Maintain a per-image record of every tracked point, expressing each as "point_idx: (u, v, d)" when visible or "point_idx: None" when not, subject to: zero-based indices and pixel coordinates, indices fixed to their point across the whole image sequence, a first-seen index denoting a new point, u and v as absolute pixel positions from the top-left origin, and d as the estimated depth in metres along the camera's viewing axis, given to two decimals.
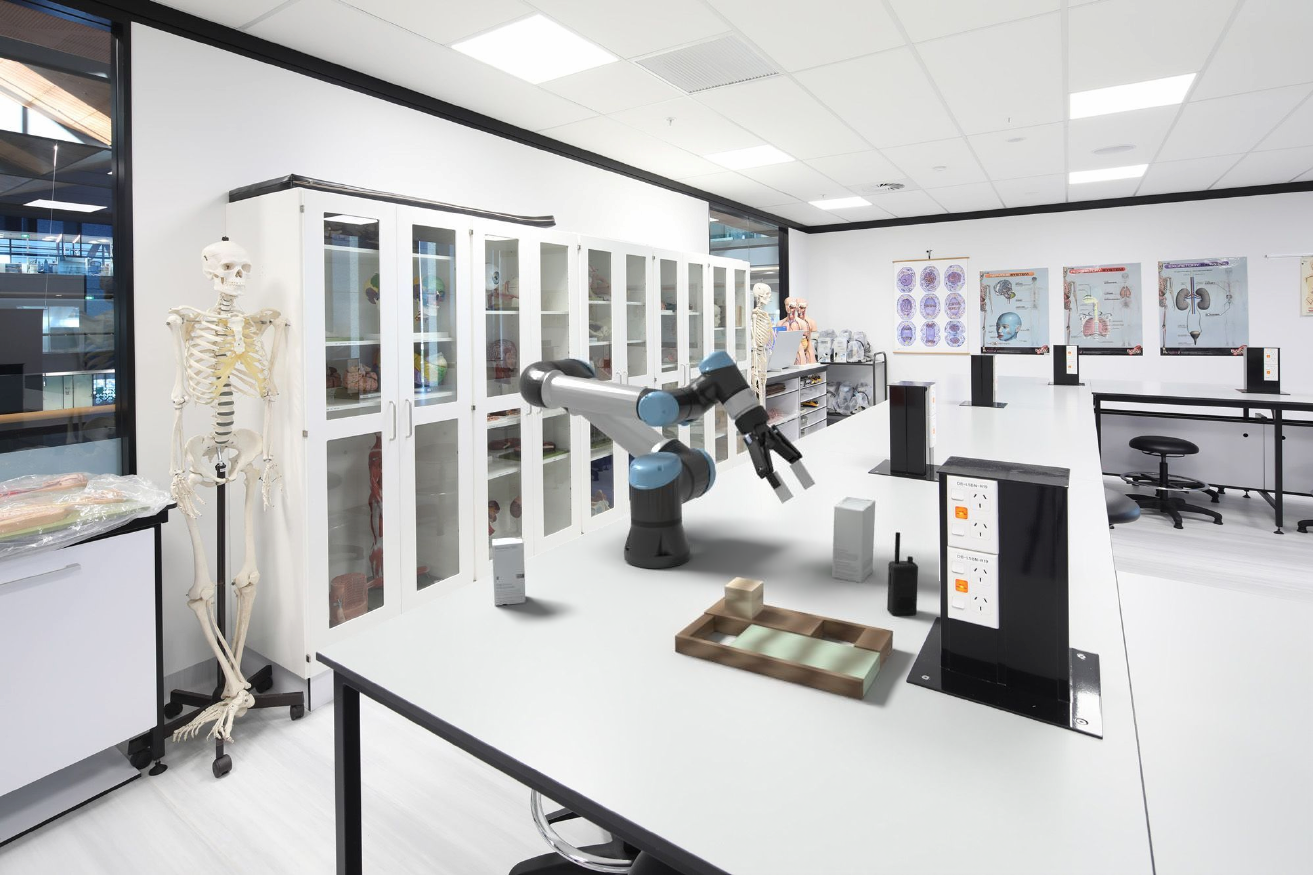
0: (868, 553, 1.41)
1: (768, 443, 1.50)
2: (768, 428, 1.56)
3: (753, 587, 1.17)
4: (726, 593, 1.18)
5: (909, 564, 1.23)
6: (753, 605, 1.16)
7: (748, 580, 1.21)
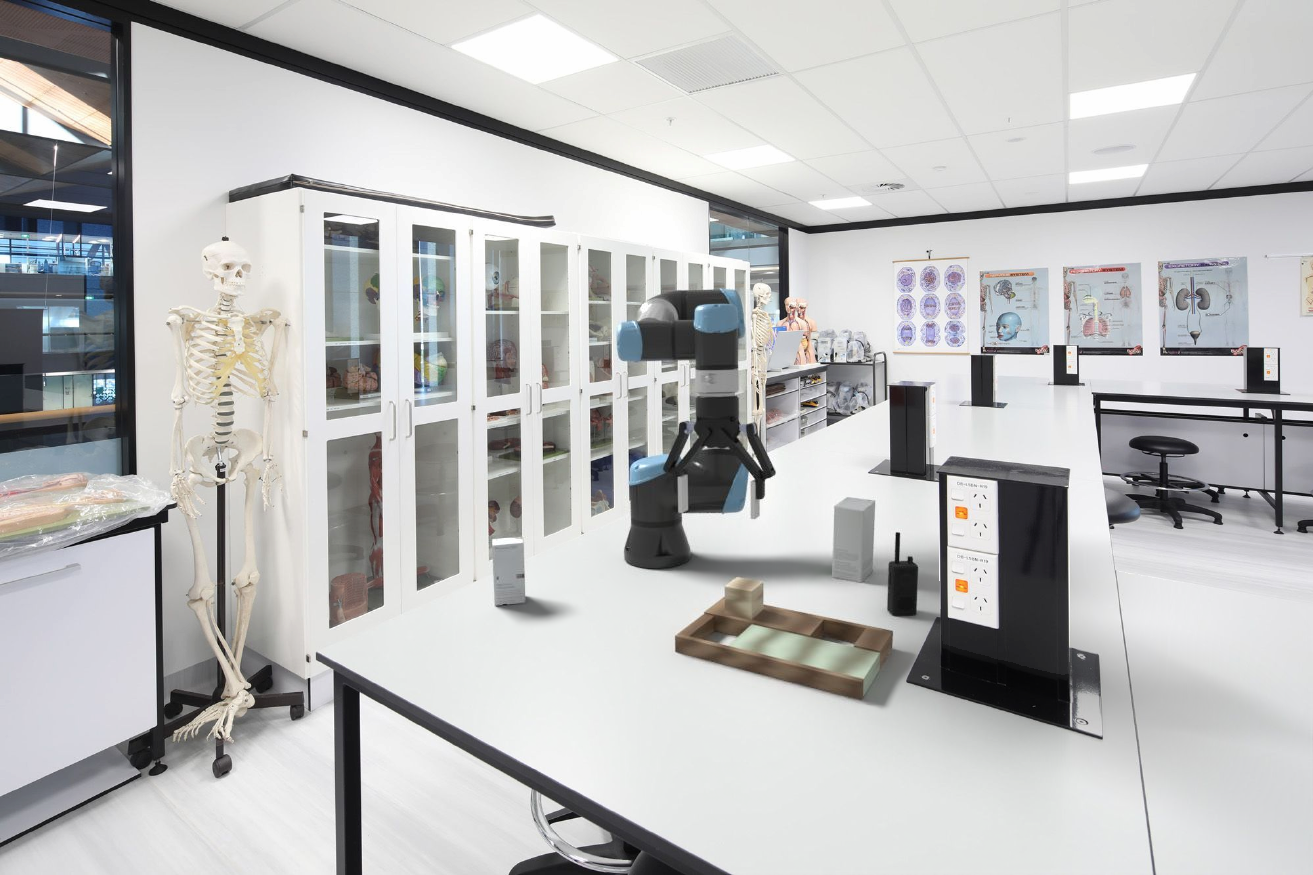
0: (868, 553, 1.41)
1: (697, 444, 1.21)
2: (729, 426, 1.19)
3: (753, 587, 1.17)
4: (726, 593, 1.18)
5: (909, 564, 1.23)
6: (753, 605, 1.16)
7: (748, 580, 1.21)
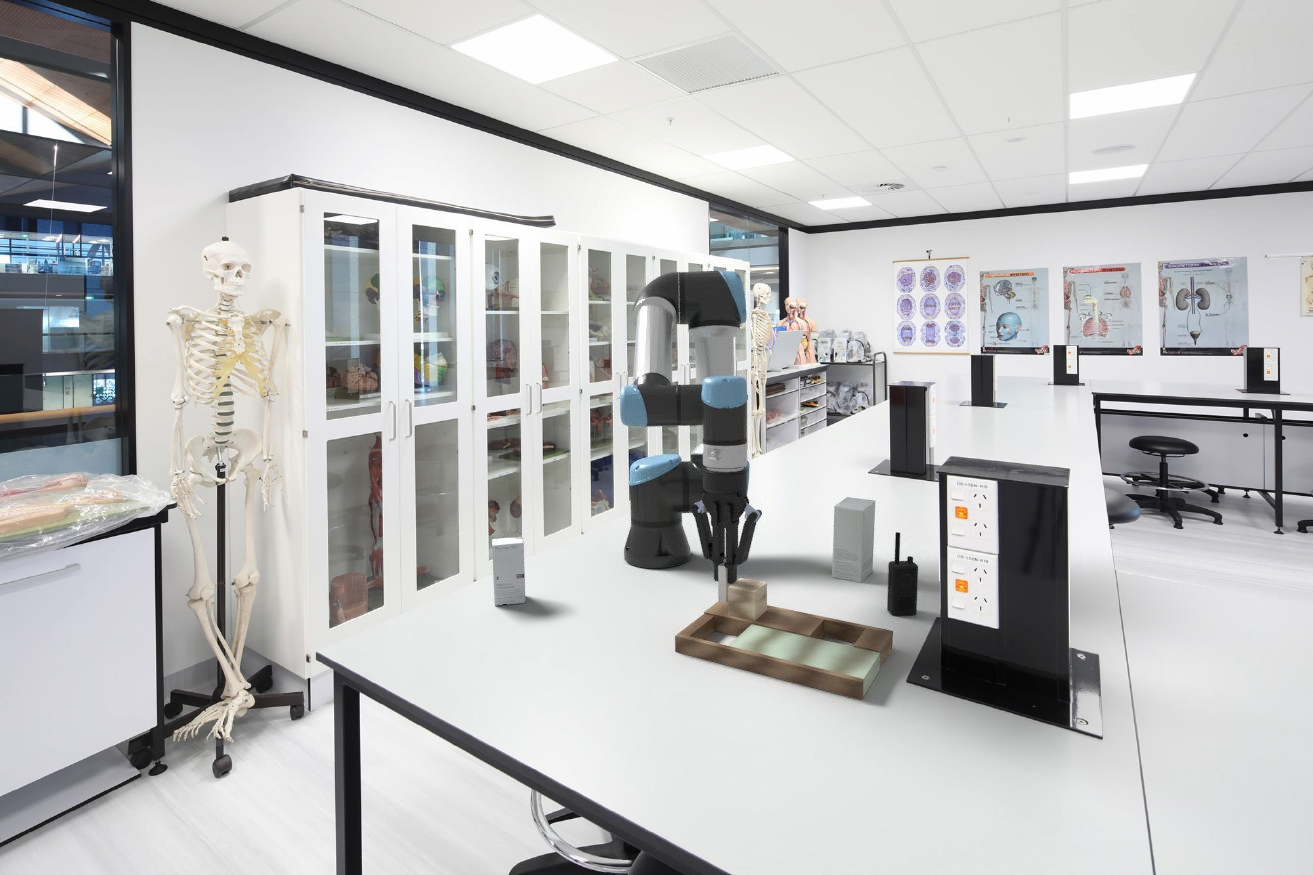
0: (868, 553, 1.41)
1: (714, 522, 1.18)
2: (738, 500, 1.16)
3: (756, 588, 1.17)
4: (729, 594, 1.18)
5: (909, 564, 1.23)
6: (756, 606, 1.16)
7: (751, 580, 1.20)
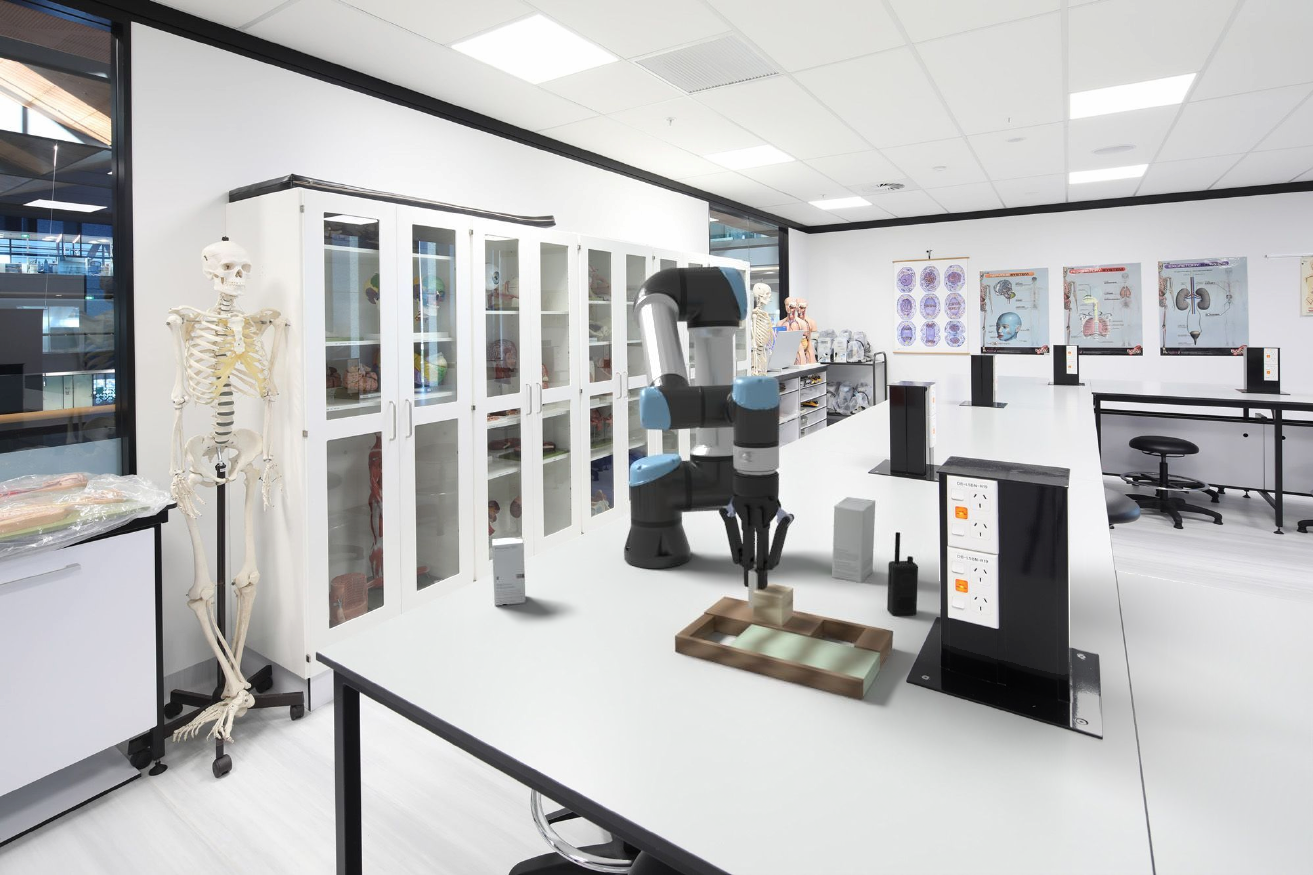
0: (868, 553, 1.41)
1: (744, 526, 1.15)
2: (769, 504, 1.13)
3: (783, 594, 1.14)
4: (755, 599, 1.15)
5: (909, 564, 1.23)
6: (783, 612, 1.13)
7: (777, 585, 1.18)
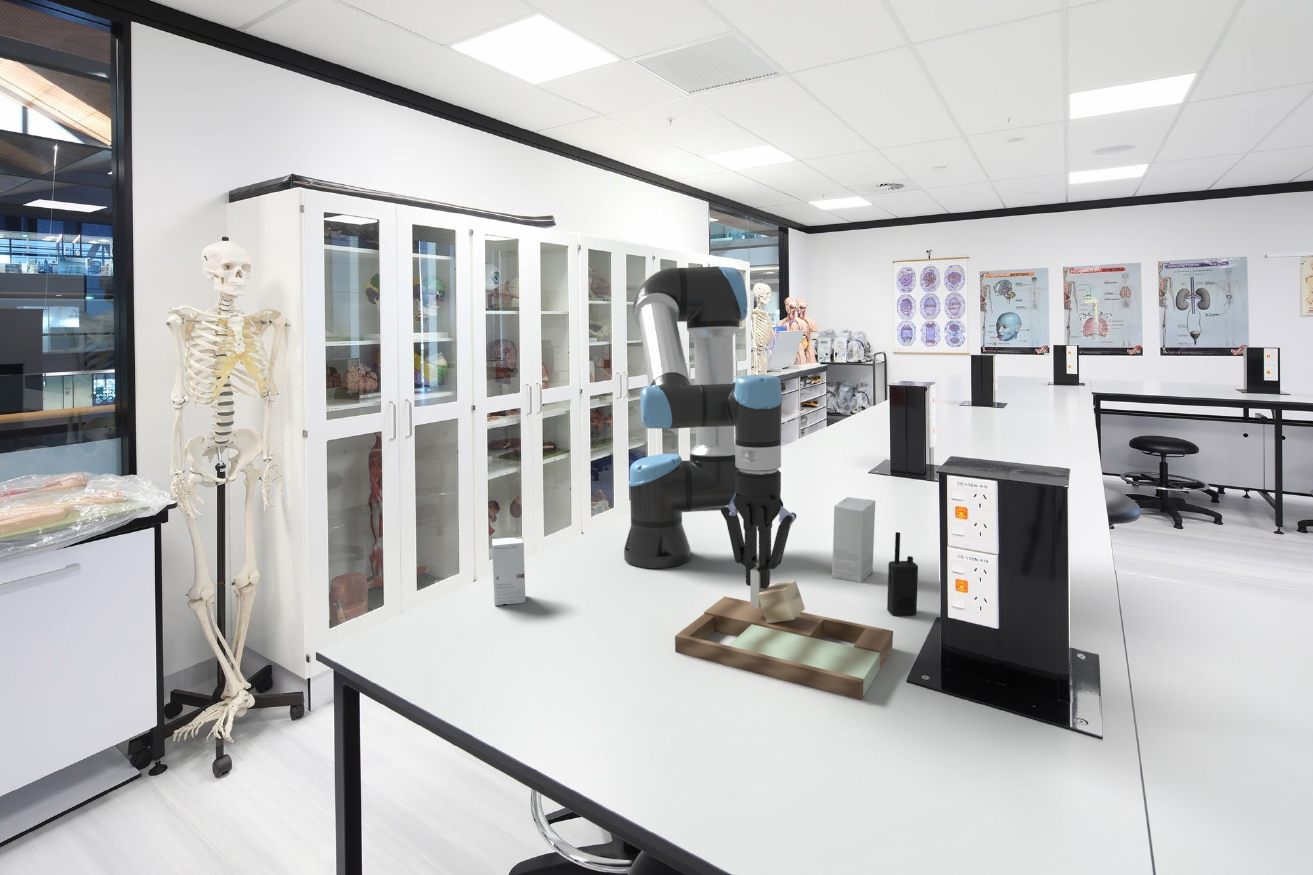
0: (868, 553, 1.41)
1: (746, 525, 1.15)
2: (772, 503, 1.13)
3: (785, 587, 1.14)
4: (761, 601, 1.15)
5: (909, 564, 1.23)
6: (791, 605, 1.13)
7: (780, 583, 1.17)
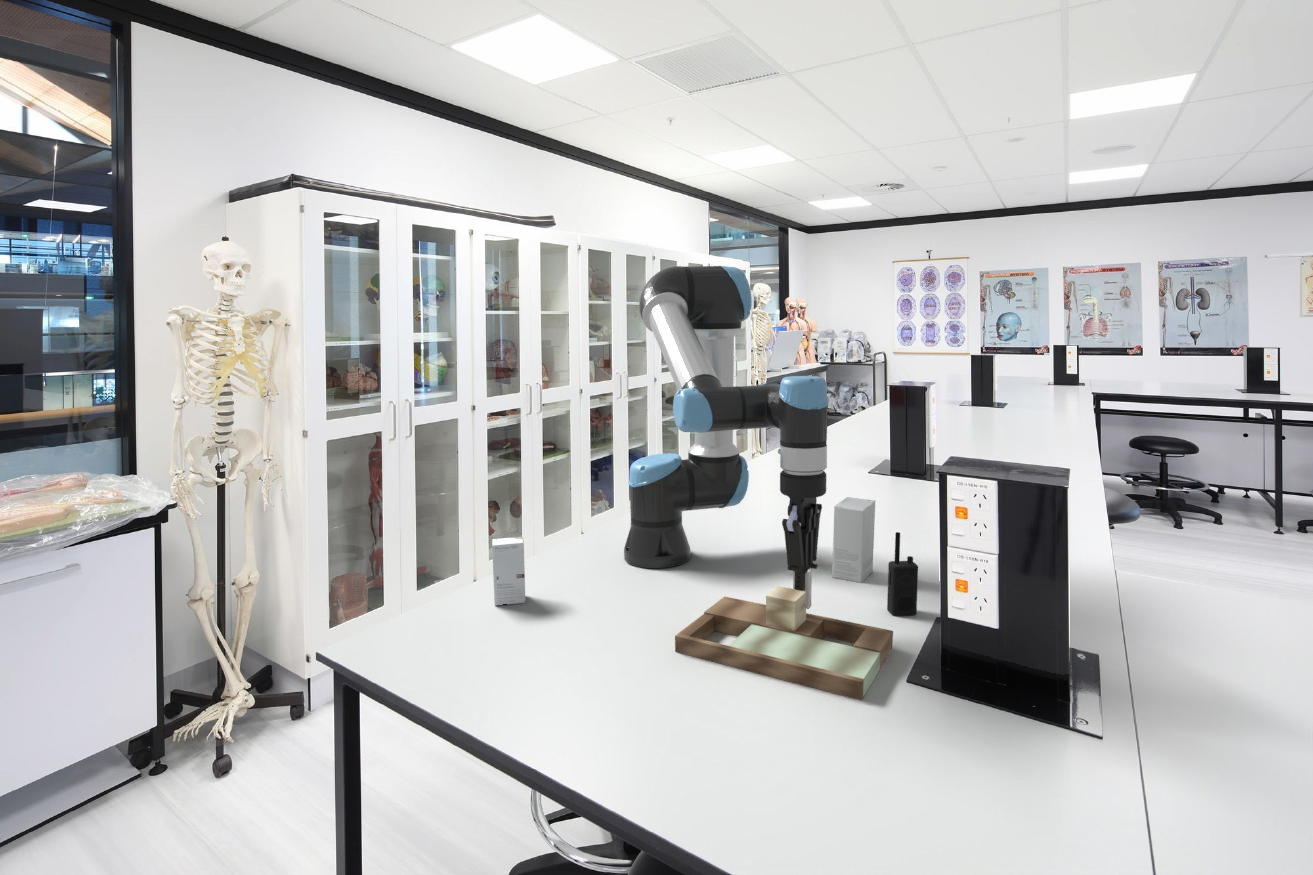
0: (868, 553, 1.41)
1: None
2: None
3: (796, 597, 1.12)
4: (768, 603, 1.14)
5: (909, 564, 1.23)
6: (796, 616, 1.12)
7: (790, 589, 1.16)
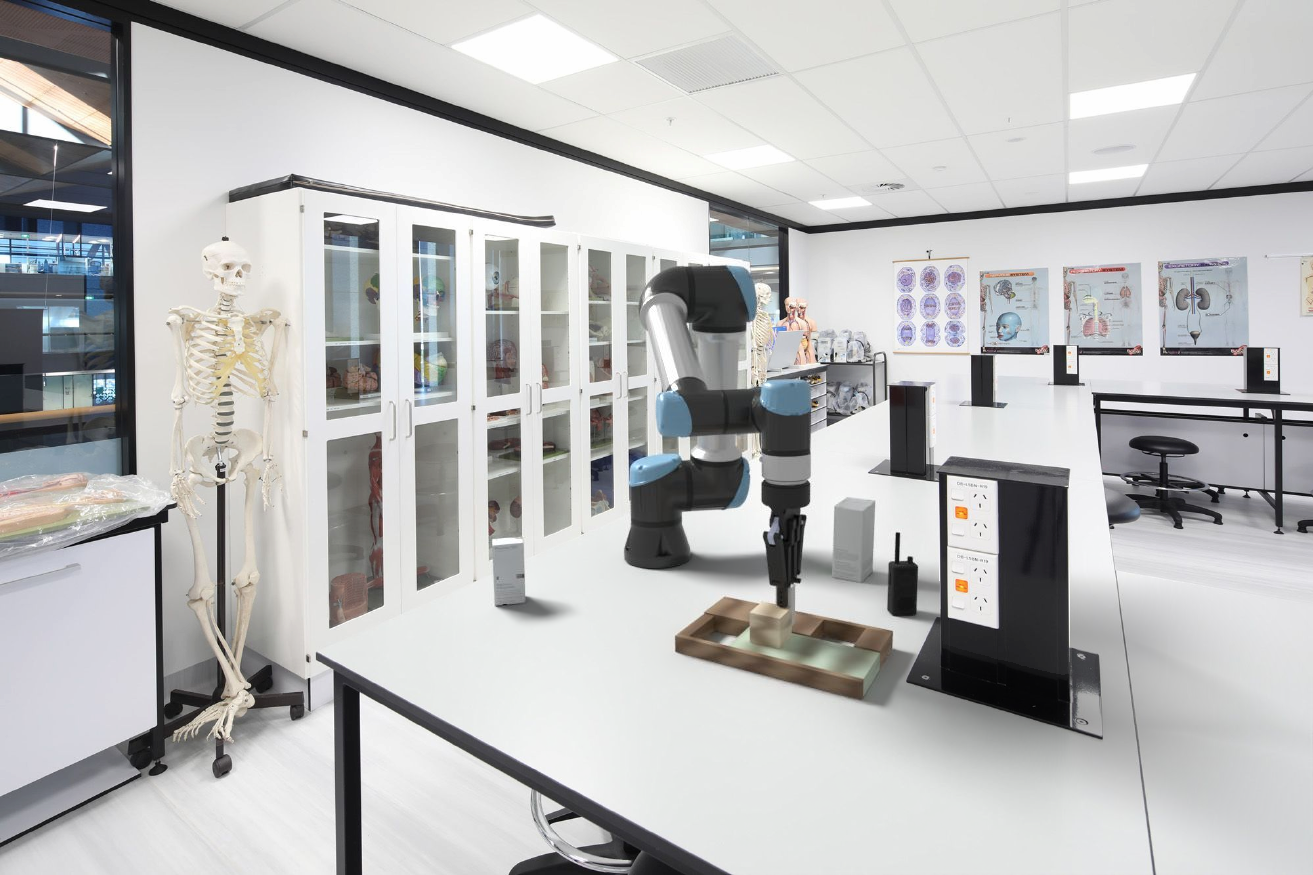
0: (868, 553, 1.41)
1: None
2: None
3: (781, 614, 1.07)
4: (751, 620, 1.08)
5: (909, 564, 1.23)
6: (781, 634, 1.06)
7: (774, 605, 1.10)
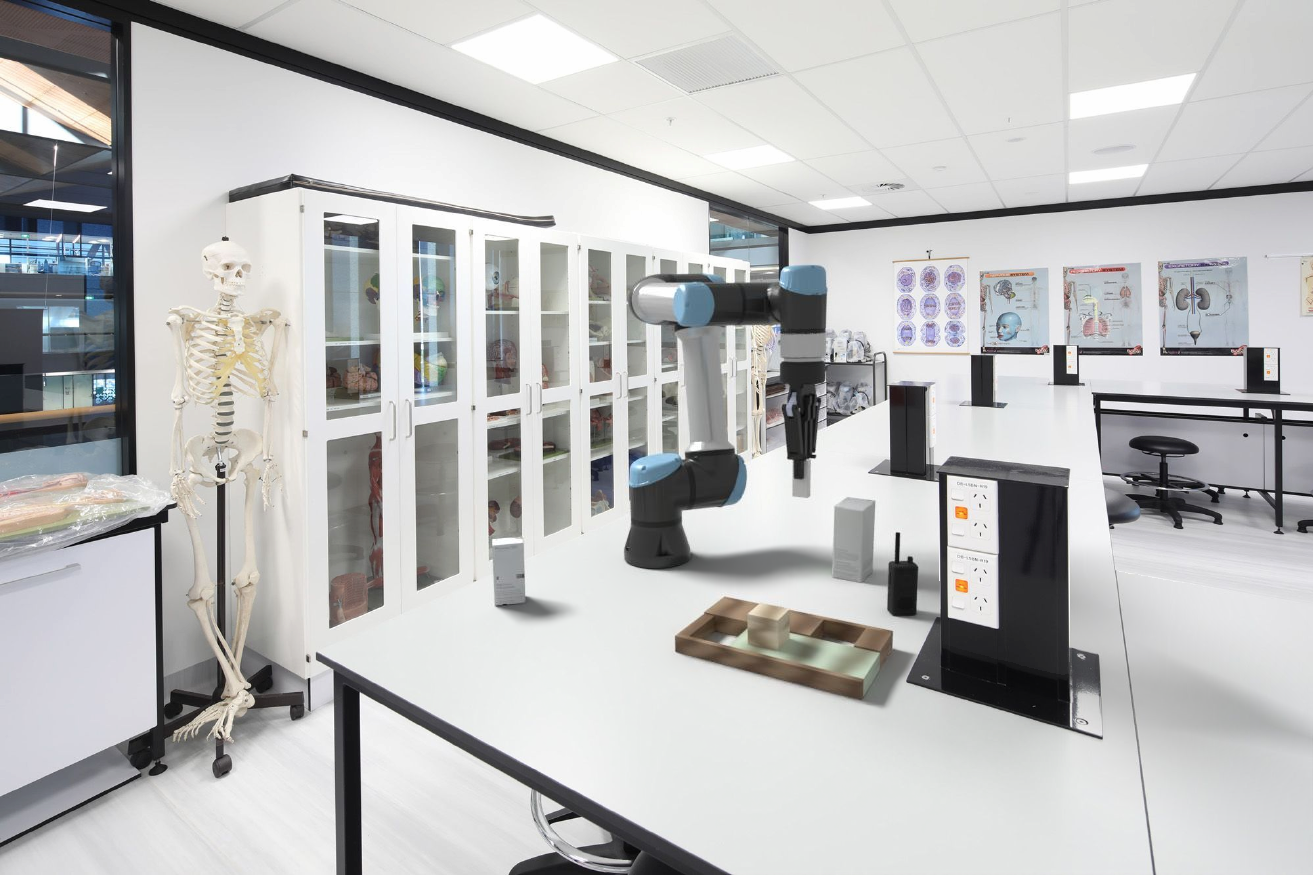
0: (868, 553, 1.41)
1: None
2: None
3: (779, 615, 1.06)
4: (749, 621, 1.07)
5: (909, 564, 1.23)
6: (779, 636, 1.06)
7: (772, 606, 1.10)
